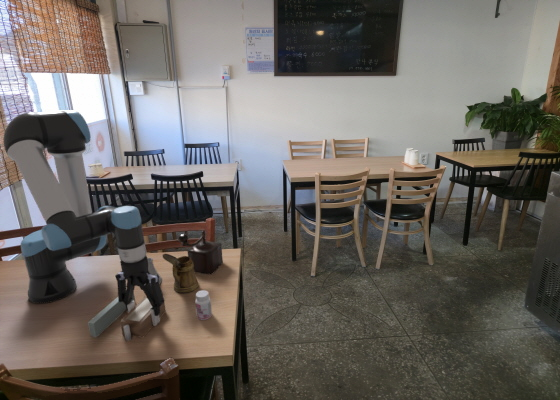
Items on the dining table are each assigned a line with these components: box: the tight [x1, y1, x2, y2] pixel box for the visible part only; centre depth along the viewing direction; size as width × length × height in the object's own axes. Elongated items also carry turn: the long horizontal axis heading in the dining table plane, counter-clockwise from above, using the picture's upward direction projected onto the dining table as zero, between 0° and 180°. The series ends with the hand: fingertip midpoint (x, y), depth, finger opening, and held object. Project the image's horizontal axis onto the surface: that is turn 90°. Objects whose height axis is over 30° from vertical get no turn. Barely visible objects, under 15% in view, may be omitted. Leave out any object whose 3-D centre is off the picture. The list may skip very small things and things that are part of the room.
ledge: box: [87, 288, 136, 341], centre depth 113 cm, size 13×19×5 cm
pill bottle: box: [195, 290, 213, 321], centre depth 113 cm, size 5×5×8 cm
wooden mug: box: [161, 253, 199, 294], centre depth 127 cm, size 9×14×18 cm, turn 160°
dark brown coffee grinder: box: [177, 229, 224, 275], centre depth 140 cm, size 16×11×18 cm
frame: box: [119, 296, 167, 338], centre depth 111 cm, size 7×13×5 cm, turn 167°
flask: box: [144, 257, 163, 285], centre depth 133 cm, size 7×7×10 cm
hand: (145, 321), depth 112 cm, fingers open, 7 cm apart
